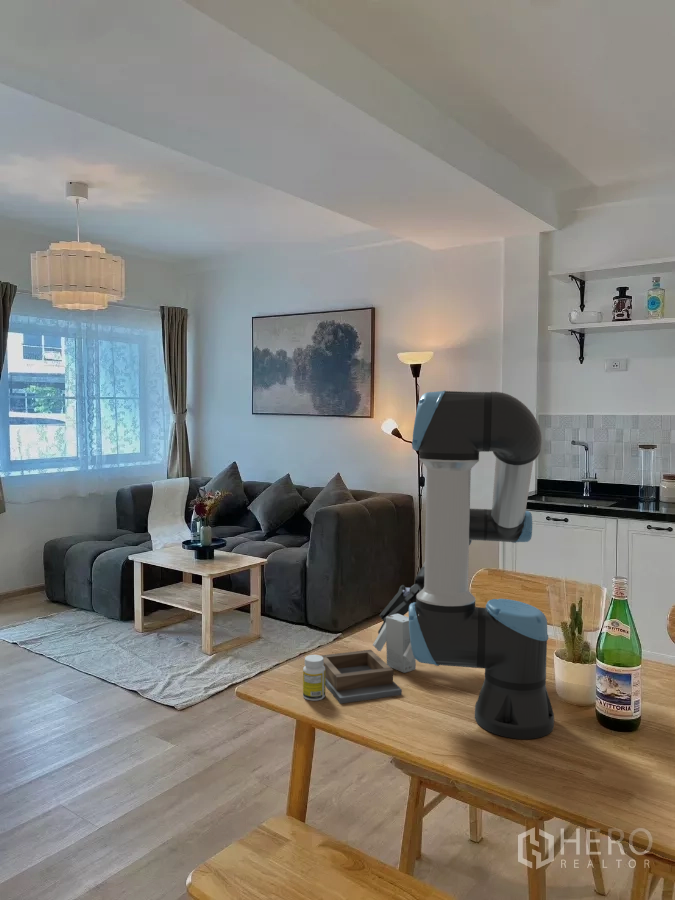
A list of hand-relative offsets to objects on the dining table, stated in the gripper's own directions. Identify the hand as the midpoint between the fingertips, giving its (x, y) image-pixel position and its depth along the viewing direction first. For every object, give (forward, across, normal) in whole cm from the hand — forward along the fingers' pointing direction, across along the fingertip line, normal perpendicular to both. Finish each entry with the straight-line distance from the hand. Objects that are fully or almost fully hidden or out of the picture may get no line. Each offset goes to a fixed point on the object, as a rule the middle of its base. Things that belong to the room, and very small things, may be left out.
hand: (391, 653), depth 162 cm
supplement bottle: (+19, +2, +13) cm, 23 cm away
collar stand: (+10, +2, +4) cm, 11 cm away
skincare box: (+1, 0, -6) cm, 6 cm away
